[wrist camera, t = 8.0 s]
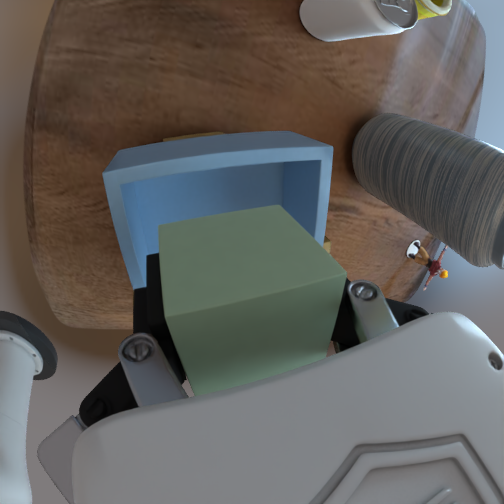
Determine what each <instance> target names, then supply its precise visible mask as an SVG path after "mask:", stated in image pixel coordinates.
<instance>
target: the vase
mask: <svg viewBox="0 0 504 504" xmlns="http://www.w3.org/2000/svg"><path fill="white" fill-rule="evenodd" d="M352 161H353V168H354V172H355V175H356V177H357V180H358V181H359V183H360V184H361V186H362V187H363V188H364V189H365V190H366V191H367V192H368V193H370V194H371V195H373V196H375V197H376V198H378V199H379V200H381V201H383V202H384V203H386V204H388V205H389V206H391V207H392V208H394V209H395V210H397V211H398V212H400V213H402V214H403V215H405V216H406V217H408V218H409V219H411V220H412V221H414V222H415V223H417V224H418V225H419V226H421V227H422V228H424V229H425V230H427V231H428V232H429V233H431V234H432V235H434V236H435V237H436V238H438V239H439V240H441V241H442V242H443V243H445V244H446V245H447V246H449V247H450V248H451V249H453V250H454V251H455V252H457V253H458V254H459V255H460V256H462V257H463V258H464V259H466V260H467V261H468V262H469V263H470V264H472V265H474V266H478V267H488V266H491V265H493V264H495V265H496V266H497V267H499V268H500V269H504V151H503V150H501V149H499V148H496V147H494V146H492V145H490V144H487V143H485V142H483V141H480V140H477V139H475V138H473V137H470V136H467V135H465V134H462V133H459V132H456V131H453V130H450V129H447V128H444V127H441V126H438V125H435V124H432V123H428V122H425V121H421V120H418V119H414V118H410V117H406V116H402V115H398V114H393V113H385V114H380V115H377V116H375V117H373V118H372V119H370V120H369V121H368V122H367V123H366V124H365V125H364V126H363V127H362V128H361V129H360V130H359V132H358V133H357V135H356V137H355V139H354V142H353V147H352Z"/></svg>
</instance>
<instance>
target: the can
mask: <svg viewBox="0 0 504 504" xmlns="http://www.w3.org/2000/svg"><path fill="white" fill-rule="evenodd" d="M300 18H301V21H302V23H303V25H304V27H305V28H306V29H307V31H308V32H309V33H310V34H312V35H313V36H314V37H316V38H318V39H320V40H323V41H329V42H331V41H339V40H345V39H352V38H360V37H368V36H377V35H388V34H397V33H400V32H402V31H404V30H405V29H410V28H412V27H413V26H414V25H415V24H416V22H417V19H418V9H417V5H416V2H415V0H304V1H303V2H302V4H301V6H300Z"/></svg>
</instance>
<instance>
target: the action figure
mask: <svg viewBox="0 0 504 504" xmlns="http://www.w3.org/2000/svg"><path fill="white" fill-rule="evenodd" d="M446 248H448V246H447V245H446V246H445V248H444V249H443V251H442V253H441V255H440V256H439V258H438V260H437V261H436V260H432V258H430V257H429V256H428V254H427V252H426V251H425V249H424V248H423V247H420V241H419V240H416V241H414V242H413V243H412V244H411V245H410V246H409V248H408V250H407V257H409V258H413V259H414V260H415V262H416V263H418V264H421V265H425V266H426V267H429V269H428V270H429V271H430V276H429V278H428V280H427V282H426V284H425V287H424V290H425V289H426V287H427V285H428V283H429V281H430V280H431V279H432V277H433V276H435V275H437V274H439V276H440V277H441V278H446V277H448V275H447V273H448V272H447V271H446V270H444V269H440V267H441V266H440V264H441V260H442V256H443V254H444V252H445V250H446ZM417 252H418V253H420V254H421V256H422V258H420V257H419V256H418V255H416V256H414V255H415V254H416V253H417Z"/></svg>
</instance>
